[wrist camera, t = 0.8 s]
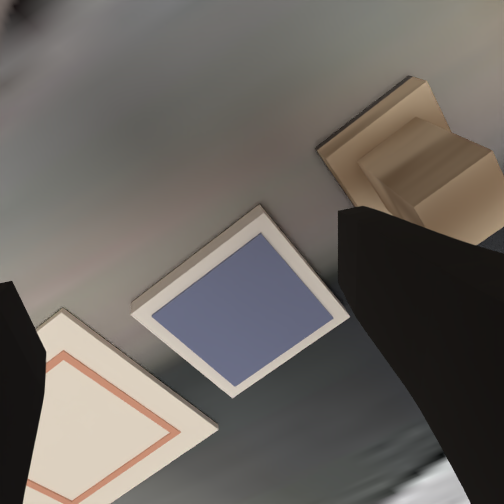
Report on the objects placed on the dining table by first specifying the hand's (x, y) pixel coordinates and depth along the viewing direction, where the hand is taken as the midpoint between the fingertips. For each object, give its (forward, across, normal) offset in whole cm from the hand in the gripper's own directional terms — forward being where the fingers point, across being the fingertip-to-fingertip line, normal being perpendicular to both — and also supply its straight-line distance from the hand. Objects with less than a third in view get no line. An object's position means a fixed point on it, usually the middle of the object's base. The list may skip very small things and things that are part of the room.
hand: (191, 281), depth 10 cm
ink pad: (+10, -2, +9) cm, 14 cm away
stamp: (+10, -10, +2) cm, 14 cm away
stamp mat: (+10, +8, +15) cm, 20 cm away
